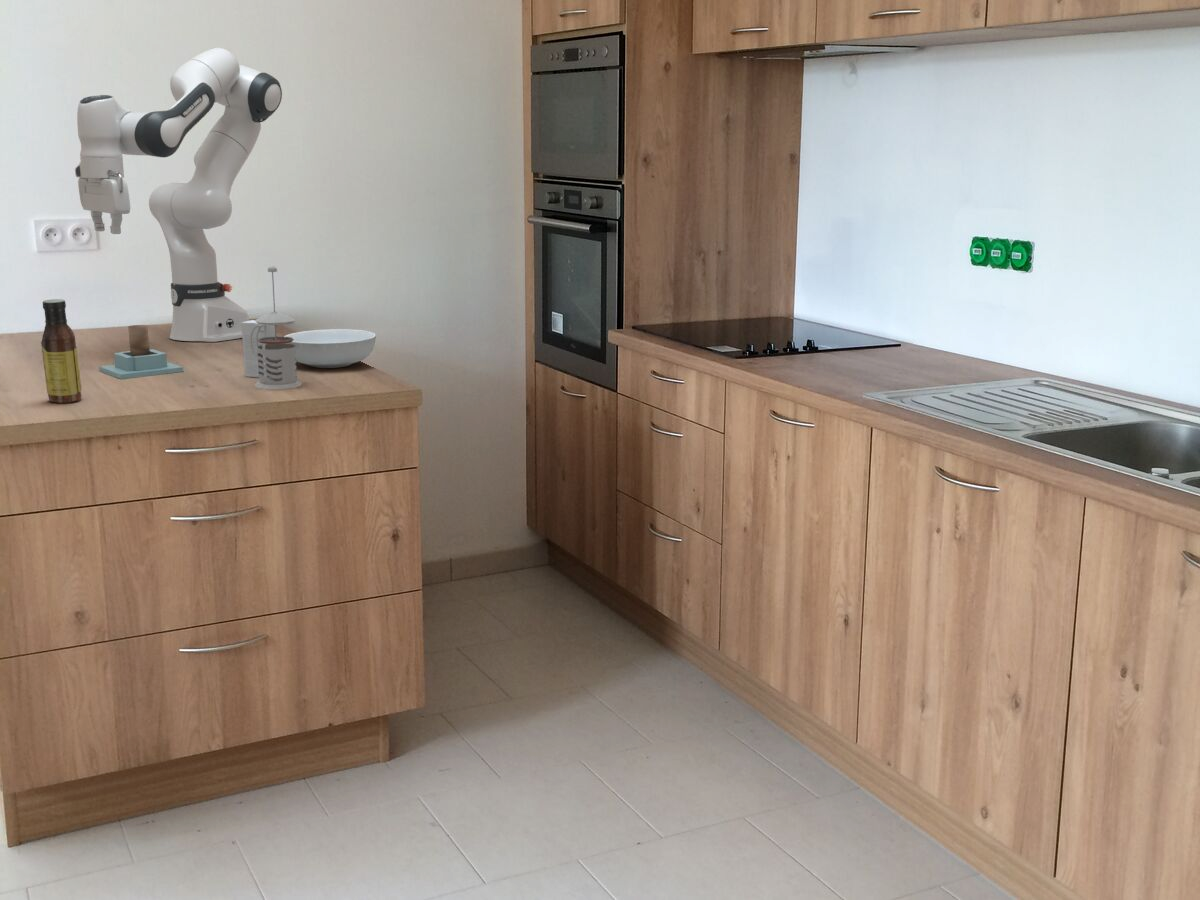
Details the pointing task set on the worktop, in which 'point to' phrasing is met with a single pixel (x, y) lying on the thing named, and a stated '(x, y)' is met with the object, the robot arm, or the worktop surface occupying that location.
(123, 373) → the holder
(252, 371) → the skincare box
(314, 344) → the serving bowl
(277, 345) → the french press
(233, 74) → the robot arm
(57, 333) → the sauce bottle
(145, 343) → the brown cylinder
